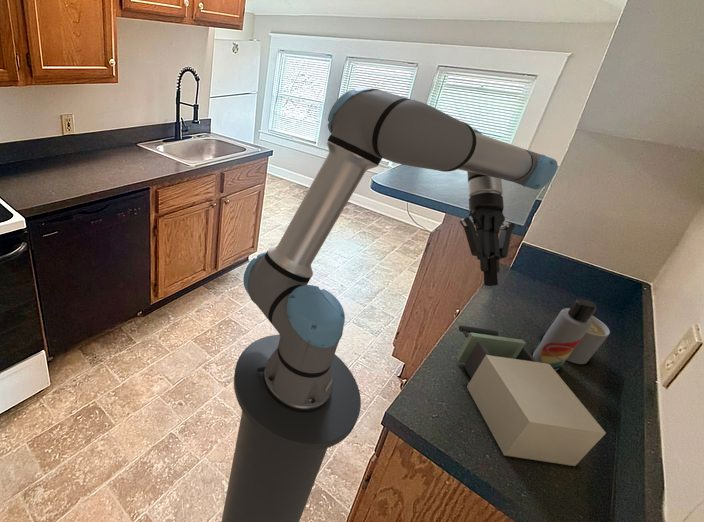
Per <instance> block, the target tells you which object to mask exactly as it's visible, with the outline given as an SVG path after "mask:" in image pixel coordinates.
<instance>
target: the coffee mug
mask: <svg viewBox="0 0 704 522" xmlns="http://www.w3.org/2000/svg"><path fill="white" fill-rule="evenodd" d="M570 308H571V307H566V308H562V309H561V310H560V311H559V313H558V314H557V316H556V318H555V319H554V320H553V322H552V323H551V324H550V326H549V328H548V329H547V331H546V332H545V334H544V335H543V337H542V339H543V338H544V337H545V335H546V334H547V332H548V331H549V330H550V328H551V327H552V325H553V324H554V322H555V321H556V319H557V318H558V316H559V315H560V314H561V312H562V311H564V310H570ZM589 321H590V323H591V327H590V328H589V330H588V331H587V332H586V334H585V335H584V336H583V338H582V339H581V340H580V342H579V343H578V344H577V346H576V347H575V348H574V350H573V351H572V352H571V354H570V355H569V356H568V358H567V359H566V360H565V361H567V362H570V363H574V364H578V365H584V364H587V363H588V362H589V361H590V360H591V358H592V357H593V356H594V355H595V353H596V352H597V351H598V350H599V348H600V347H601V346H602V344H603V343H604V342H605V341H606V339H607V338H608V337H609V335H610V334H611V330H610V328H609V327H608V326H607V324H605V323H604V322H603V321H601V320H600V319H598V318H597V317H595V316H594V315H592V316H591V317H590V319H589Z"/></svg>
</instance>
